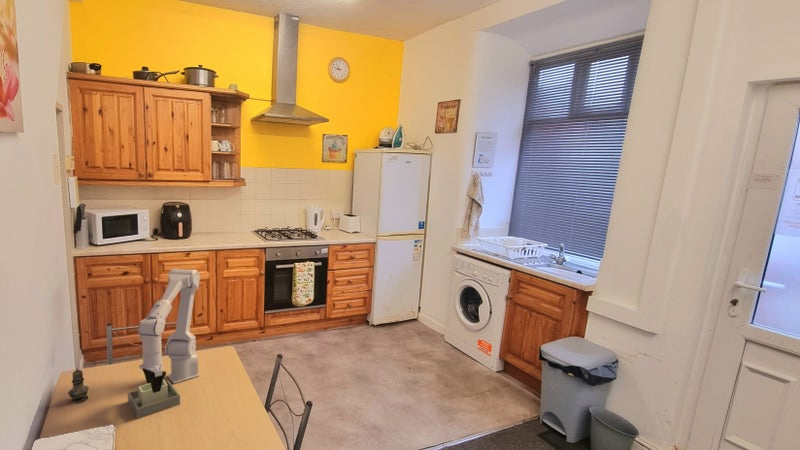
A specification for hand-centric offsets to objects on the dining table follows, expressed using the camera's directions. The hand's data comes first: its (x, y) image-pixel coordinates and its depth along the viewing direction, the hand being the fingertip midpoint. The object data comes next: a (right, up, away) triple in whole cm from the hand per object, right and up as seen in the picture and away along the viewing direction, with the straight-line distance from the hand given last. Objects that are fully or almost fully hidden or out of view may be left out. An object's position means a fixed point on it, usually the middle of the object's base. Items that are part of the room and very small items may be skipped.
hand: (153, 387), depth 144 cm
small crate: (0, -5, 0) cm, 5 cm away
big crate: (0, -6, +1) cm, 6 cm away
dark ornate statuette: (-27, -5, +1) cm, 28 cm away
